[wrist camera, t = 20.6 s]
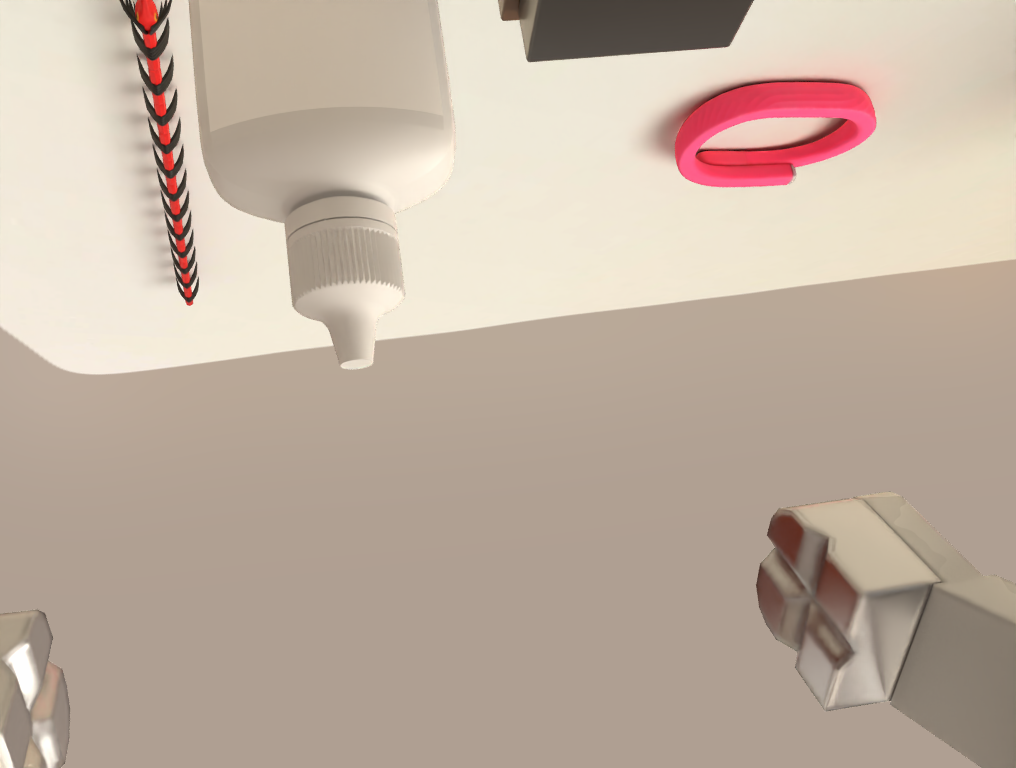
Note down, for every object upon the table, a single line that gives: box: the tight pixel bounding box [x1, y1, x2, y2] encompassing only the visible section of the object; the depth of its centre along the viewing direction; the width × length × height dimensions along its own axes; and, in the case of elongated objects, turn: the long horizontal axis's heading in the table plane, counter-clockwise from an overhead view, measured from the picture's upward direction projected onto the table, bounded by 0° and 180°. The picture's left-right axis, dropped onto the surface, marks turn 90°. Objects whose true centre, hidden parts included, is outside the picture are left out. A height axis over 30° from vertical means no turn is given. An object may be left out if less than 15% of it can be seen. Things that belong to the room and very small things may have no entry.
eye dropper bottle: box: [189, 0, 456, 369], centre depth 21 cm, size 4×6×12 cm
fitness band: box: [675, 82, 876, 187], centre depth 37 cm, size 8×6×2 cm
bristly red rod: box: [120, 0, 199, 306], centre depth 34 cm, size 1×22×1 cm, turn 164°
